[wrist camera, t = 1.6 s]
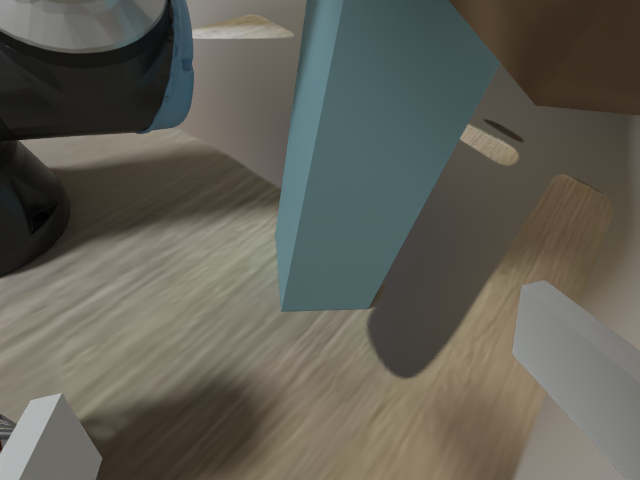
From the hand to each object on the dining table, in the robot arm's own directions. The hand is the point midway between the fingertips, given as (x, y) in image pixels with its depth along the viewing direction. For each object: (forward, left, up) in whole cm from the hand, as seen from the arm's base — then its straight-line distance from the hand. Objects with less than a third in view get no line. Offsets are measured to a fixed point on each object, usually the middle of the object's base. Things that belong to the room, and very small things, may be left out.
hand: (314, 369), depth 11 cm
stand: (-14, +16, -23) cm, 31 cm away
